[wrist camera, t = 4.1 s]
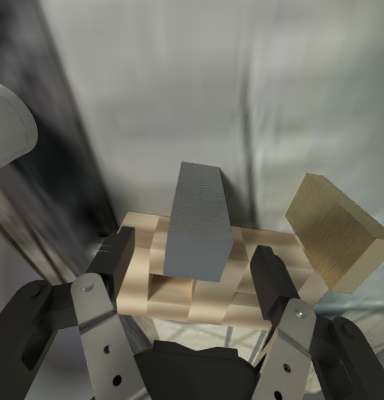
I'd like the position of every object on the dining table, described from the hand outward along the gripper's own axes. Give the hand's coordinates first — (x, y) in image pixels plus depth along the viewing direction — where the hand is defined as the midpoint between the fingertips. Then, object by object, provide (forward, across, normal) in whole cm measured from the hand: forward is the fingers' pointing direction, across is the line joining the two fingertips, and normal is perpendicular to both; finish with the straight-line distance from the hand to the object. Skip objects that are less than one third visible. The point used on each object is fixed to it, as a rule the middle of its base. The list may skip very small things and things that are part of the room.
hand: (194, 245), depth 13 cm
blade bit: (+8, -11, 0) cm, 14 cm away
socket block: (+9, -4, +10) cm, 14 cm away
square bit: (+8, 0, 0) cm, 9 cm away
